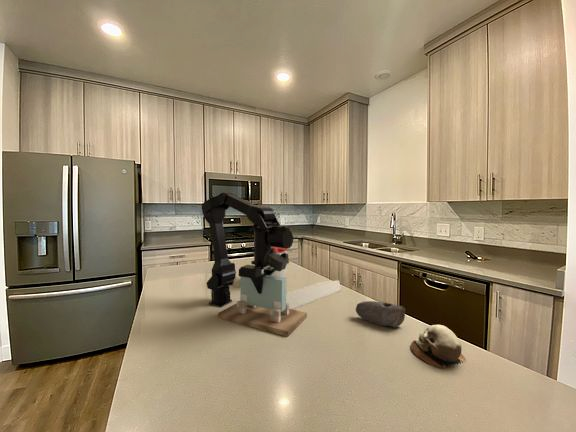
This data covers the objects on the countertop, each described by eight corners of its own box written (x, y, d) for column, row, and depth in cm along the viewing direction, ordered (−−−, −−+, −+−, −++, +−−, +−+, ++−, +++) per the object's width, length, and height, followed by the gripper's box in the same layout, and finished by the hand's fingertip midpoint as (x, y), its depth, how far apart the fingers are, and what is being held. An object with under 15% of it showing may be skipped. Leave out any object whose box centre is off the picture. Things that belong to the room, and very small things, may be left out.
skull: (397, 343, 65) (417, 311, 67) (419, 363, 68) (437, 331, 70) (438, 369, 54) (460, 330, 56) (463, 392, 57) (483, 353, 59)
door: (240, 302, 84) (240, 273, 83) (245, 299, 87) (245, 271, 86) (281, 312, 77) (281, 280, 76) (286, 308, 79) (286, 277, 79)
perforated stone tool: (352, 319, 81) (353, 299, 80) (358, 314, 85) (358, 294, 85) (402, 333, 72) (402, 310, 72) (405, 326, 76) (406, 304, 76)
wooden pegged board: (218, 317, 81) (218, 302, 81) (243, 302, 94) (243, 290, 94) (288, 336, 70) (288, 319, 69) (306, 317, 82) (307, 302, 82)
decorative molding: (266, 312, 92) (284, 314, 85) (264, 299, 93) (281, 299, 86) (324, 291, 115) (341, 291, 108) (321, 281, 116) (339, 280, 109)
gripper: (269, 252, 69) (268, 306, 70) (296, 243, 86) (296, 287, 86) (237, 248, 74) (237, 299, 74) (269, 241, 91) (269, 282, 91)
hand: (262, 292), depth 81 cm, fingers closed on door, 3 cm apart
